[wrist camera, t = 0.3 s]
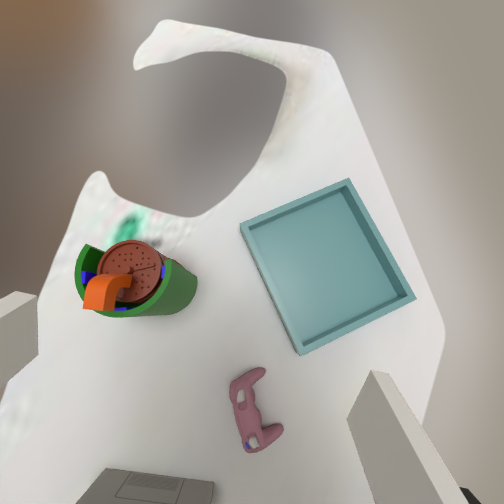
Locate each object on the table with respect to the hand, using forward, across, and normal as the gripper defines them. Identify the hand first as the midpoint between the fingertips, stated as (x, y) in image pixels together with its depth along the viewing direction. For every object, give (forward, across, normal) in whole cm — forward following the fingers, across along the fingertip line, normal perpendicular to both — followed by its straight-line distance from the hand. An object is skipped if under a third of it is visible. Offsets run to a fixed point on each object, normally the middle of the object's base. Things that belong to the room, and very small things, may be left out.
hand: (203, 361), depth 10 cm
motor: (+31, +10, +15) cm, 35 cm away
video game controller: (+22, -8, +26) cm, 36 cm away
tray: (+34, -14, +6) cm, 37 cm away
